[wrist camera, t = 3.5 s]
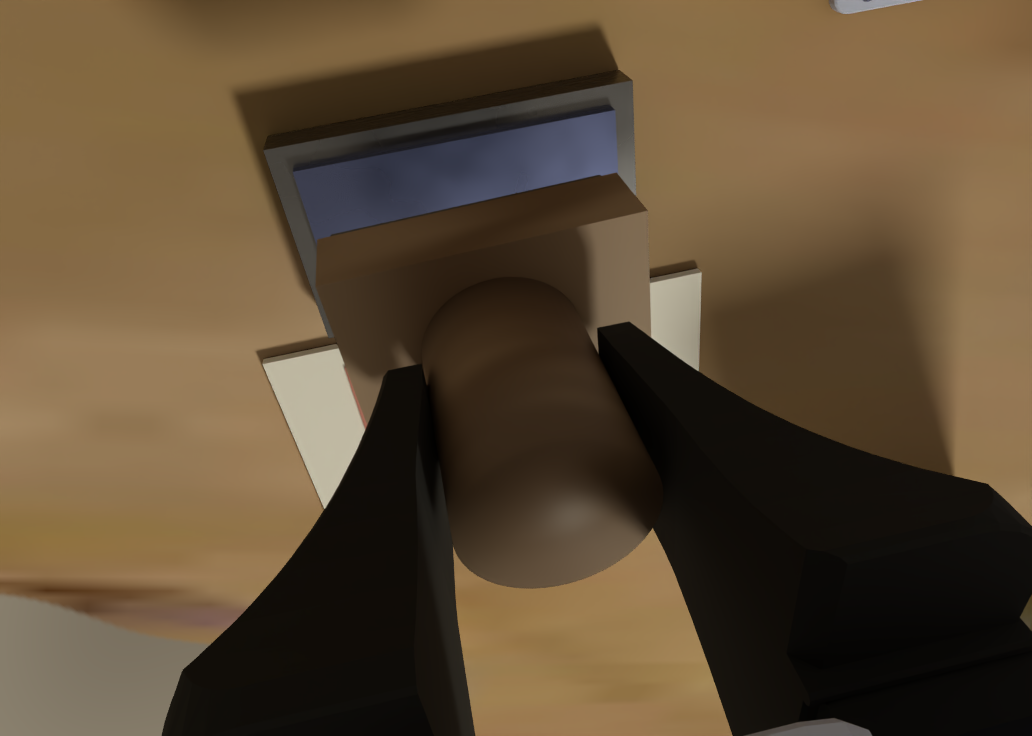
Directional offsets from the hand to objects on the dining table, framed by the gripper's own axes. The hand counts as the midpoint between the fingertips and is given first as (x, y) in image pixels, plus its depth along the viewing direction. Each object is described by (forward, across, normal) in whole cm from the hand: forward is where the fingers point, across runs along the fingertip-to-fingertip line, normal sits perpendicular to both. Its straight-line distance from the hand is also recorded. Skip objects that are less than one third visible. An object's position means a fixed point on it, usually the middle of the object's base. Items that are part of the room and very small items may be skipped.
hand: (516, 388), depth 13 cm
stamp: (+3, 0, 0) cm, 3 cm away
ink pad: (+10, 0, +1) cm, 10 cm away
